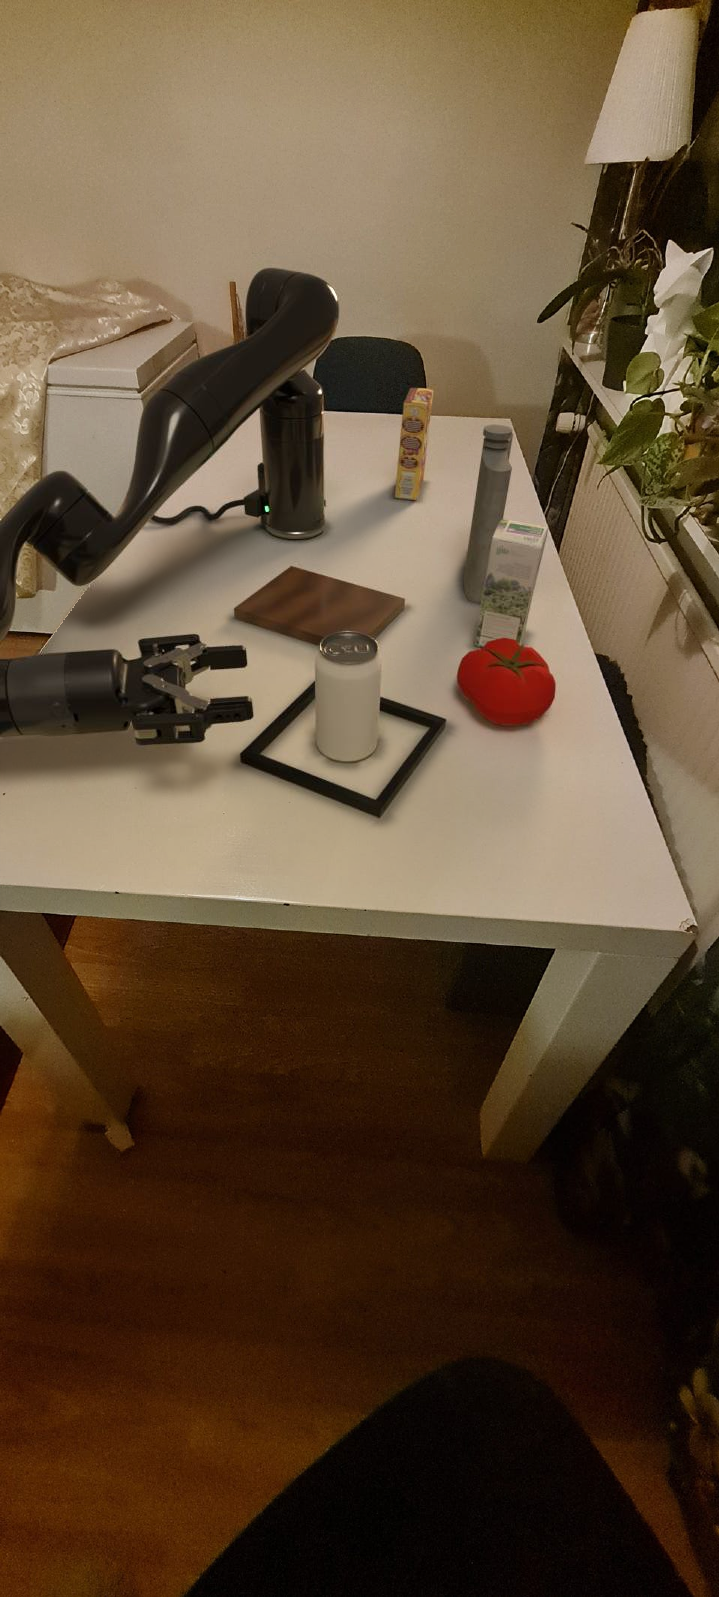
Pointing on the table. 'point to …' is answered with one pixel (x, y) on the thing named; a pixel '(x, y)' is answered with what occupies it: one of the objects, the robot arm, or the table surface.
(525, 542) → the syrup box
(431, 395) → the candy box
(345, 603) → the board
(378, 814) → the black square frame
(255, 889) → the table surface
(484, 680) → the tomato
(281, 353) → the robot arm
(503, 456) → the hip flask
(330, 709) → the can
